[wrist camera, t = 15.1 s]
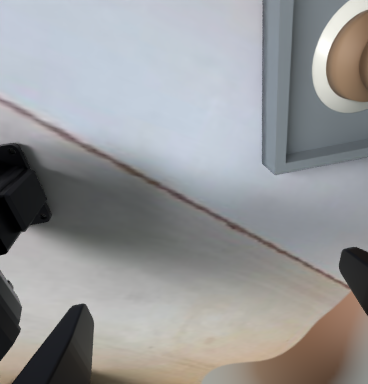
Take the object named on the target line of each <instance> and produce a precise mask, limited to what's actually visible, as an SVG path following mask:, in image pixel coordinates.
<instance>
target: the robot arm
mask: <svg viewBox="0 0 368 384" xmlns="http://www.w3.org/2000/svg"><path fill="white" fill-rule="evenodd" d="M10 148H12V149H14V150H15V152H16V153H12V152H11V151H10ZM46 200H47V198H46V196H45V193H44V191H43V189H42V187H41V185H40V183H39V180H38V178H37V176H36V174H35V172H34V171H33V170H32V169H30V166H29V164H28V162H27V160H26V158H25V156H24V154H23V151H22V149H21V148H20V146H19V145H17V144H15V143H8V144H3V145H0V255H4V254H6V253H7V252H8V251H9V249H10V248H11V246H12V245H13V244H14V242H15V241H16V239H17V238H18V236H19V235H20V234H21V232H25V231H26V230H27V228H28V227H29V226H30V225H33V224H39V223H44V222H47V221H49V220H50V218H51V216H52V214H51V211H50V209H49V207H48V205H47V203H46ZM42 214H44V215H46V216H47V217H44V216H42ZM339 270H340V272H341V274H342V276H343V277H344V279H345V281H346V282H347V284H348V285H349V287H350V289H351V290H352V292H353V294H354V295H355V297H356V298H357V300H358V302H359V303H360V305H361V307H362V308H363V310H364V311H365V313H366V314H367V315H368V252H366V251H364V250H362V249H359V248H357V247H350V248H346V249H343V250H342V253H341V258H340V263H339ZM21 310H22V306H21V304H20V301H19V298H18V297H17V295H16V294H15V292H14V291H13V285H12V284H11V282H10V281H9V280H6V278H5V277H4V275H3V274H2V272H1V271H0V361H1V360H2V358H3V357H4V356H5V354H6V353H7V352H8V351H9V349H10V348H11V347H12V345H13V344H14V342H15V340H16V338H17V337H18V335H19V333H20V330H21V328H20V326H19V322H20V316H21ZM93 333H94V321H93V318H92V316H91V314H90V312H89V310H88V307H87V306H86V304H78V305H74V306H72V307H71V308H70V309H69V310H68V312H67V313H66V314H65V315H64V317H63V318H62V319H61V321H60V322H59V323H58V325H57V326H56V327H55V328H54V330H53V331H52V332H51V334H50V335H49V336H48V337H47V339H46V340H45V341H44V343H43V344H42V345H41V347H40V348H39V349H38V350H37V352H36V353H35V354H34V356H33V357H32V358H31V359H30V361H29V362H28V363H27V365H26V366H25V367H24V369H23V370H22V371H21V372H20V374H19V375H18V376H17V378H16V379H15V380H14V381H13V383H12V384H90V379H91V369H92V351H93Z"/></svg>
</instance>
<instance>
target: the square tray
mask: <svg viewBox="0 0 368 384" xmlns="http://www.w3.org/2000/svg"><path fill="white" fill-rule="evenodd" d="M365 10H368V0H263V62H262V164H263V165H264V166H266V167H267V168H268V169H269V170H270V171H271V172H272V173H273V174H274V175H278V174H283V173H288V172H293V171H299V170H304V169H309V168H314V167H319V166H325V165H330V164H335V163H340V162H345V161H351V160H356V159H361V158H366V157H368V102H358V101H353V100H348V99H344V98H342V97H339V96H338V95H336V94H335V93H334V92H333V90H332V89H331V88H330V86H329V83H328V80H327V76H326V62H327V57H328V53H329V50H330V47H331V45H332V43H333V41H334V39H335V37H336V36H337V34H338V32H339V31H340V30H341V29H342V27H343V26H344V25H345V24H346V23H347V22H348V21H349V20H350V19H351V18H353V17H354V16H356V15H357V14H359V13H361V12H363V11H365Z"/></svg>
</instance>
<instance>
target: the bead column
mask: <svg viewBox="0 0 368 384" xmlns="http://www.w3.org/2000/svg"><path fill="white" fill-rule="evenodd" d="M326 76H327V80H328V83H329V86H330V88H331V89H332V90H333V92H334V93H335V94H336V95H338V96H339V97H342V98H344V99H348V100H353V101H358V102H368V10H365V11H363V12H361V13H359V14H357V15H356V16H354V17H353V18H351V19H350V20H349V21H348V22H347V23H346V24H345V25H344V26H343V27H342V29H341V30H340V31H339V32H338V34H337V36H336V37H335V39H334V41H333V43H332V45H331V47H330V50H329V53H328V57H327V62H326Z"/></svg>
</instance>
